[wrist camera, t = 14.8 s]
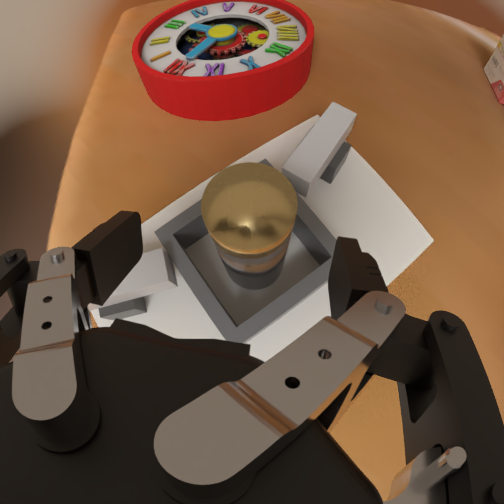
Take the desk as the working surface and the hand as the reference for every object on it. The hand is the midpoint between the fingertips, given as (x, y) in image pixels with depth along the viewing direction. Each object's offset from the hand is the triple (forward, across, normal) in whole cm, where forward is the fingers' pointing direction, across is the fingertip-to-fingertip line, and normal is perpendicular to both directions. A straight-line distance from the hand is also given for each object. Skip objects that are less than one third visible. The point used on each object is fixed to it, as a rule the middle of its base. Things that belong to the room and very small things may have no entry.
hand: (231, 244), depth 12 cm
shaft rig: (+10, 0, +7) cm, 12 cm away
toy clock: (+28, +7, -10) cm, 30 cm away
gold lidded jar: (+10, 0, +6) cm, 11 cm away
